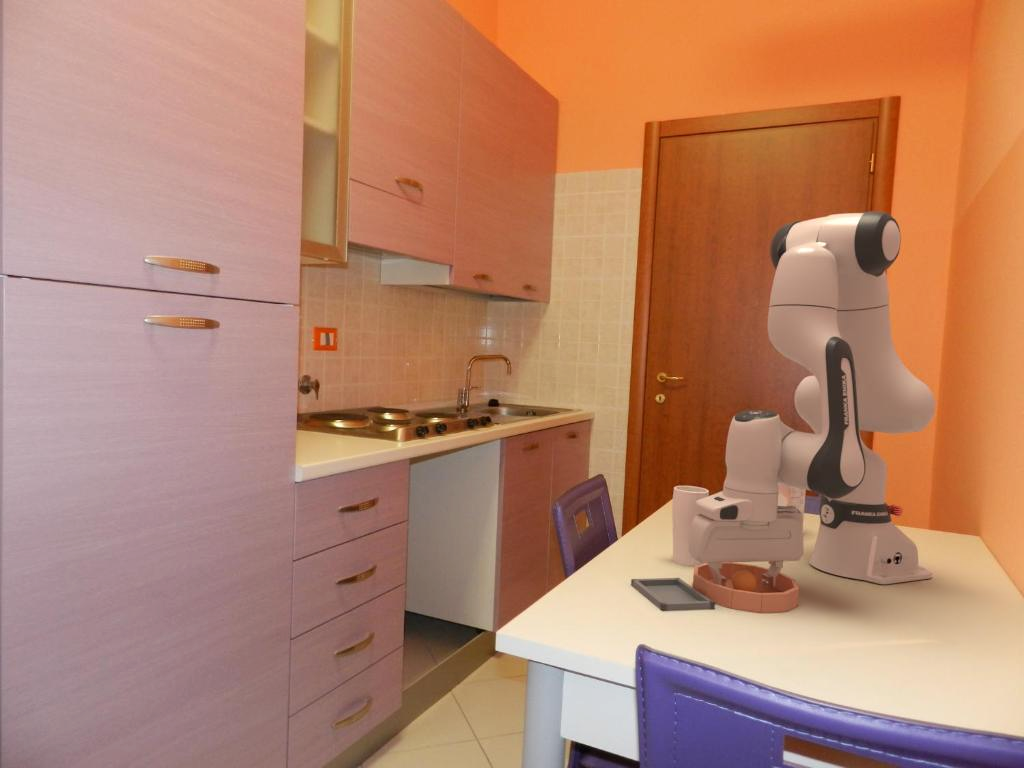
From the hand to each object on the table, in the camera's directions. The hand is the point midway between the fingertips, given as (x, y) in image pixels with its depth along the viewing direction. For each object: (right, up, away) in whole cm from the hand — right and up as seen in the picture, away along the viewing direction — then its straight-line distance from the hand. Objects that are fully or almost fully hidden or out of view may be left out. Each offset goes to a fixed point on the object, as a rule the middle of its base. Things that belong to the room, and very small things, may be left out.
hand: (744, 586), depth 115 cm
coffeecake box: (+23, -2, +50) cm, 55 cm away
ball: (0, -1, 0) cm, 1 cm away
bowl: (0, -2, 0) cm, 2 cm away
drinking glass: (-5, -1, +17) cm, 18 cm away
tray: (-13, -1, -3) cm, 14 cm away
